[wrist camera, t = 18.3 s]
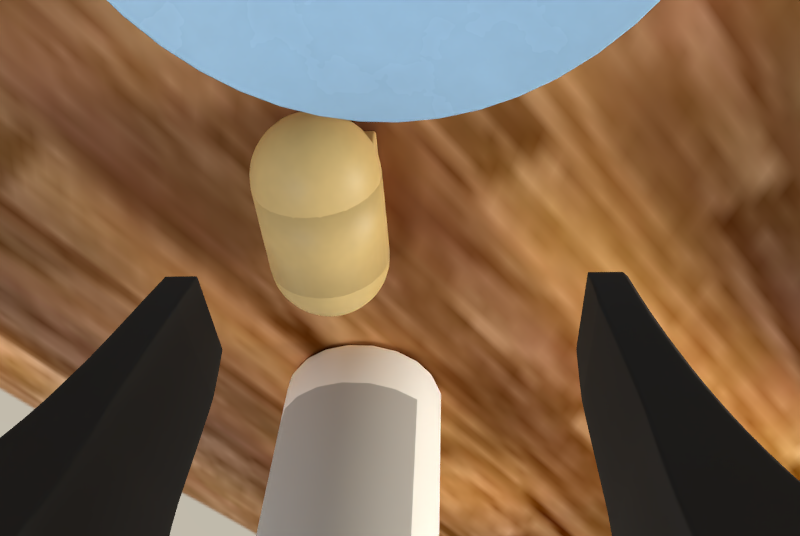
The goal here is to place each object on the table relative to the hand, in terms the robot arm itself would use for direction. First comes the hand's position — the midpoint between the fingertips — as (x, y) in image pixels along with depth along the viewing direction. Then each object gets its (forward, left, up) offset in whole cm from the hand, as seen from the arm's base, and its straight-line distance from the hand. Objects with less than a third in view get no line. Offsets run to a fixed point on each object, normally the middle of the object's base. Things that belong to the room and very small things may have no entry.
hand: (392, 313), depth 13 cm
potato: (+1, -5, -10) cm, 12 cm away
